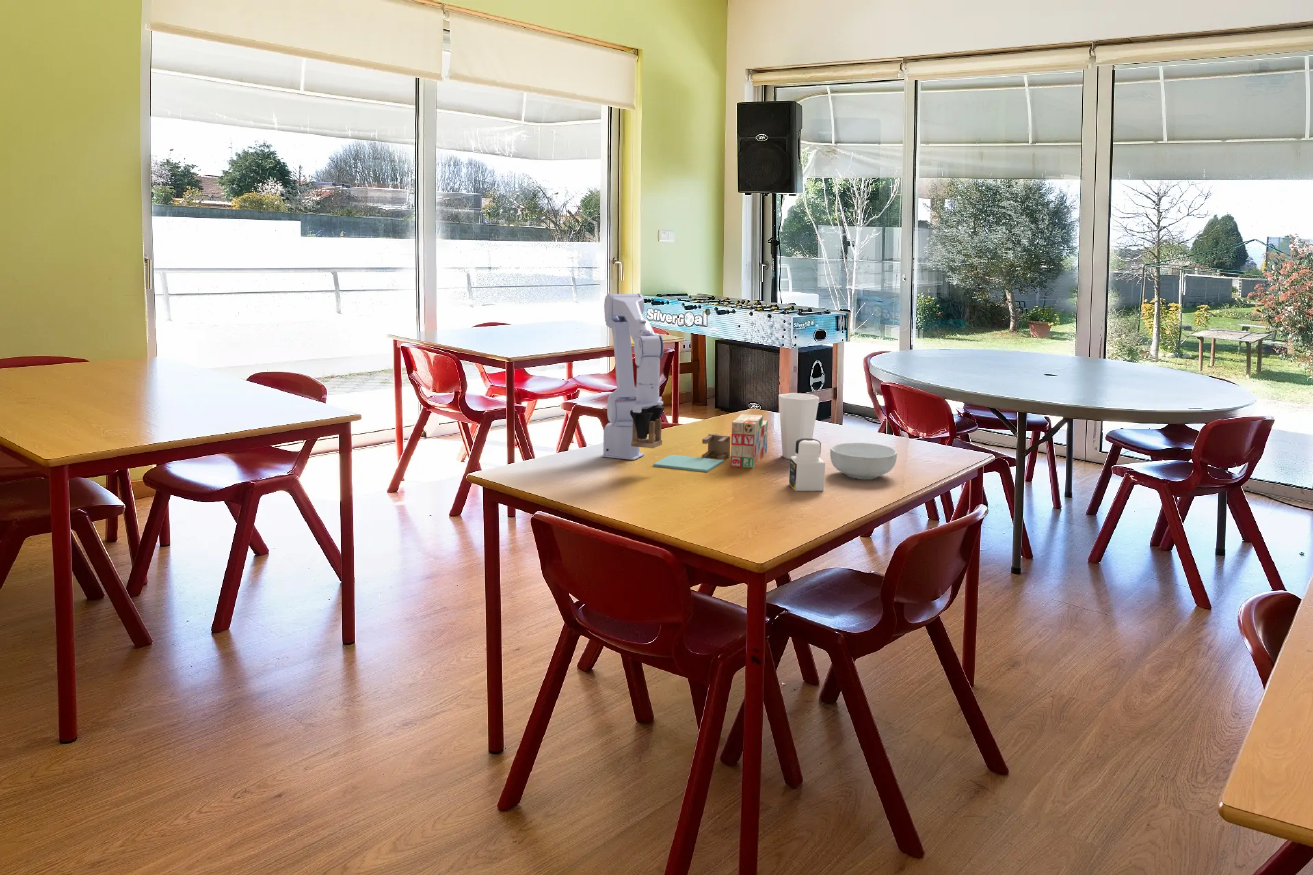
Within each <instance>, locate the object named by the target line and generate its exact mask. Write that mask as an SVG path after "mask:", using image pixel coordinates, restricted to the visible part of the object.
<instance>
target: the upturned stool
mask: <svg viewBox="0 0 1313 875" xmlns="http://www.w3.org/2000/svg"><path fill="white" fill-rule="evenodd" d="M662 421H663V419H662V418H660V419H656V423H655V421H650V423H649V434H648V438H646V439H639V438H638V436H637V431H636V427H635V423H634V421H633V434H632V441H631V446H634V447H639V448H645V449H646V448H647V449H655V448H658V447H660V446H662V445H663V440H662V425H663V424H662V423H663V422H662Z"/></svg>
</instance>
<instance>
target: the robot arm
mask: <svg viewBox="0 0 1313 875" xmlns="http://www.w3.org/2000/svg"><path fill="white" fill-rule="evenodd" d="M603 304H604V305H603V309H604V310H603V311H604V321H605V326H607V327H608V328H610V329H611V332H612V339H613V340H612V341H613V351H614V353H613V354H614V365H615V366H614V368H615V378H616V380H615V381H616V389H615V390H614V391H612V392H611V393H610V394H608V397H607V407H606V408H607V409H606V414H607V415H606V416H607V419H608V423H607V424H606V425H605V426H604V431H603V447H602V448H603V449H602V450H603V451H602V452H603V454H602V455H601V456H602V457H603V458H604V457H605V458H610V459H611V458H612V459H618V460H619V459H620V460H621V459H622V460H627V461H628V460H631V461H634V460H637V459H638V458H641V457H643V456H646V455H645V452H641V451H640V447H634V446H631V441H632V434H633V421H634V423H635V427H636V431H637V436H638V438H639V439H648V436H649V423H650V421H655V423H656V419H661V417H662V414H663V412H664V411H665V406H663V405H664V400H662V399H663V398H662V396H660V373H661V372H660V371H661V370H660V369H661V359H662V358H663V356H664V349H665V347H664V339H663V336H662V335H661V334H657V333H655V331H654V328H653V327H652V325H651V323H650V321H648V320H647V319H646V318H644V317H643V314H644V311H645V300H644V296H643V295H642V293H607V294H606V296H604V303H603ZM631 338H632V339H631ZM632 342H633V349H632ZM632 350H634V357H635V358H634V359H635V361H634V362H635V365H636V387H635V379H634V366H633V351H632ZM602 457H601V458H602Z"/></svg>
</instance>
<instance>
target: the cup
mask: <svg viewBox="0 0 1313 875" xmlns="http://www.w3.org/2000/svg"><path fill="white" fill-rule="evenodd" d="M819 402H820V397H818V396H817V395H815V394H811V393H801V392H799V393H798V392H789V393H781V394H778V406H779V408H778V410H779V422H780V438H781V450H782V452H781V453H782V457H783V458H784V459H788V460H790V457H791V456H795V450H796V441H797V440H799V439H803V438H810V439H814V438H813V436H814V431H815V427H816V426H815V425H816V420H817V414H818V413H817V412H818V408H819Z"/></svg>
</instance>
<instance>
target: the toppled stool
mask: <svg viewBox="0 0 1313 875" xmlns="http://www.w3.org/2000/svg"><path fill="white" fill-rule="evenodd" d="M701 444H705V445H707V451H706V452H704V453H703V454H702V455H701V458H708V459H711V457H715V458H716V457H717V458H716V459H718V460H723V461H725V460H726V459H729V458H731V435H728V434H717V433H708V434H707V435H706V436H705V437H703V438H702V440H701Z"/></svg>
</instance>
